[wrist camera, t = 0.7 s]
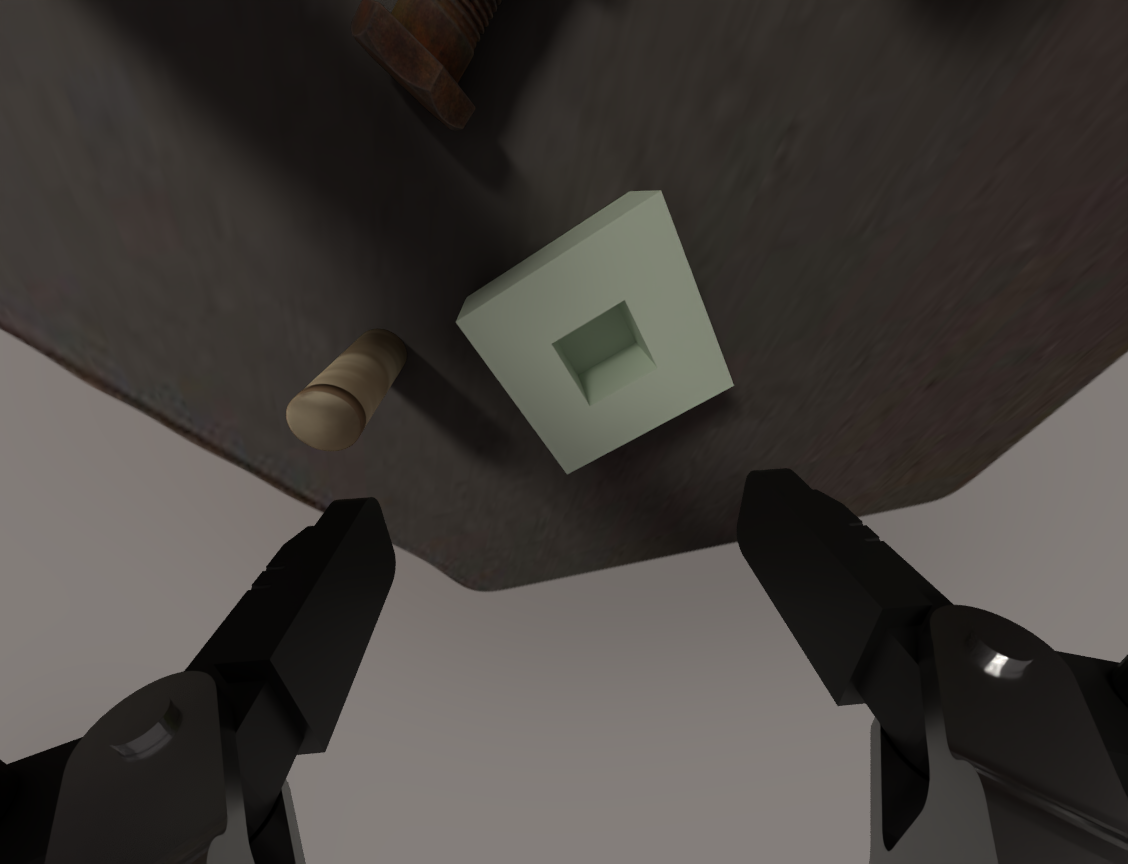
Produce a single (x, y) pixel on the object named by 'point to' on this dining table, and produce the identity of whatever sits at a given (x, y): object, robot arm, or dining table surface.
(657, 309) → the socket block
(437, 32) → the bolt
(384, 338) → the peg
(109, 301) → the dining table surface
